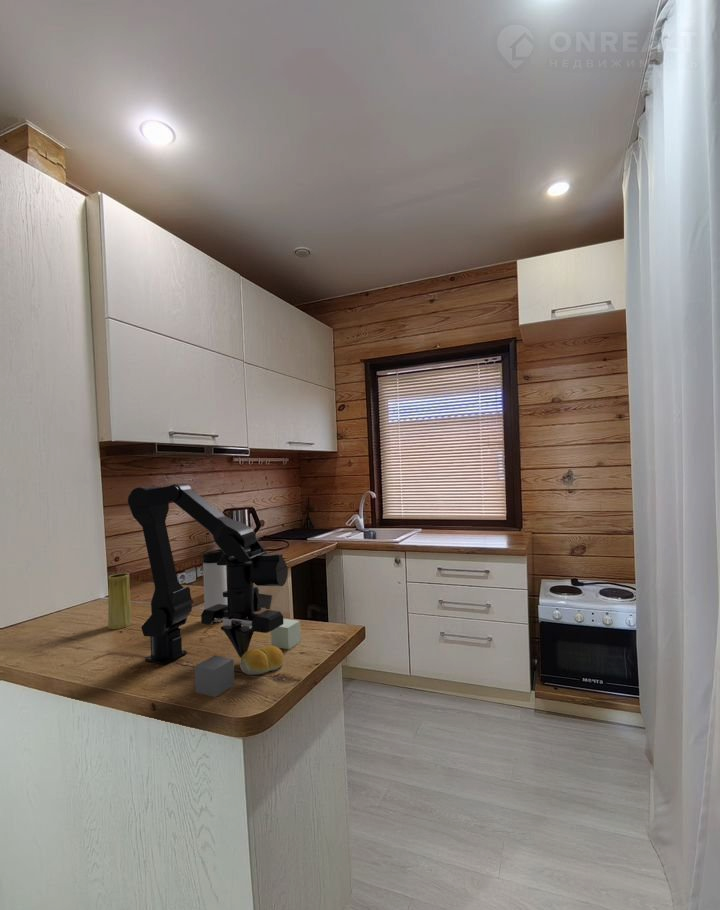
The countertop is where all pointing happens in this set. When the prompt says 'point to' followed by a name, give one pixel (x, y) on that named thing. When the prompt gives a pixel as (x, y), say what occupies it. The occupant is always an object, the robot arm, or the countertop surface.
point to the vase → (119, 601)
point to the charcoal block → (214, 675)
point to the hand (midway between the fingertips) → (242, 657)
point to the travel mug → (214, 580)
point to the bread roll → (261, 660)
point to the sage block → (286, 634)
